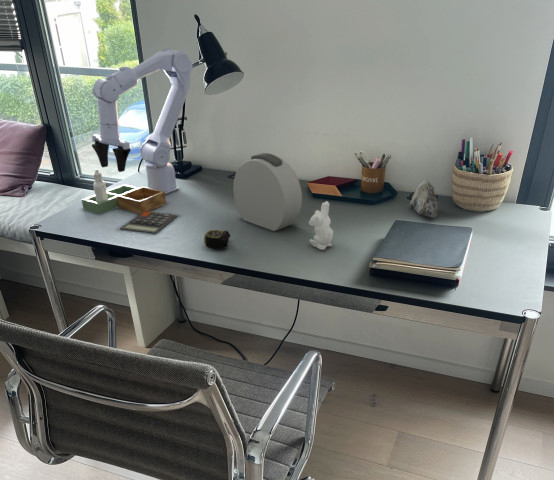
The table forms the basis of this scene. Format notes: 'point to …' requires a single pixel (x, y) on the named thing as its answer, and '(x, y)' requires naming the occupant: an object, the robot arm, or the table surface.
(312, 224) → the white bunny figurine
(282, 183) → the alarm clock
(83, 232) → the table surface
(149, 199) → the open wooden box
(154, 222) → the calculator
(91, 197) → the green divided tray
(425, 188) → the mineral rock
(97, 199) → the eye dropper bottle
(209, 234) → the tape measure
